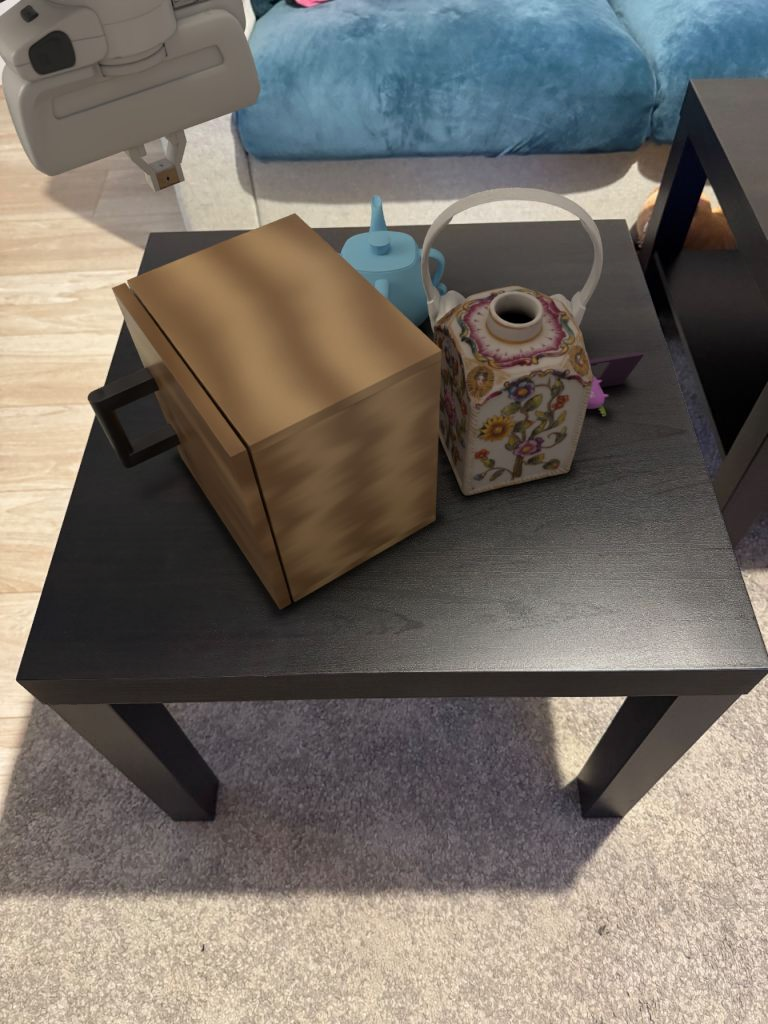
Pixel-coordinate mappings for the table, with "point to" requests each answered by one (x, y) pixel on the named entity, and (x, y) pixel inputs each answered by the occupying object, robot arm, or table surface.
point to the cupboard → (309, 391)
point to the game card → (611, 376)
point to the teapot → (393, 265)
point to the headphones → (452, 298)
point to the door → (190, 440)
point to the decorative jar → (510, 388)
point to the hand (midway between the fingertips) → (167, 184)
